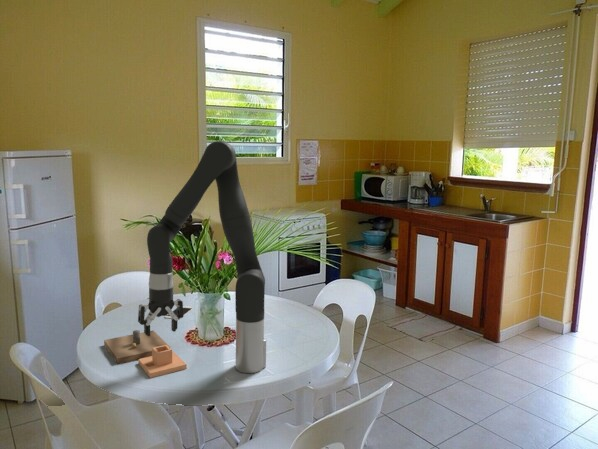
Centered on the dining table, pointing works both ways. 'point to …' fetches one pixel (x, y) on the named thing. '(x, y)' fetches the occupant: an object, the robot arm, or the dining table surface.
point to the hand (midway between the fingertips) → (161, 333)
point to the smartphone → (185, 311)
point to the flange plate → (162, 362)
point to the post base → (133, 346)
